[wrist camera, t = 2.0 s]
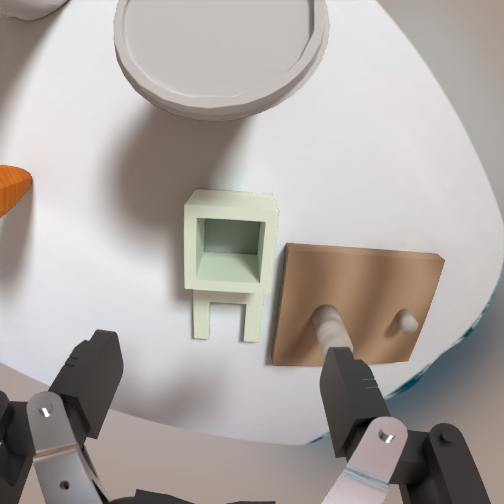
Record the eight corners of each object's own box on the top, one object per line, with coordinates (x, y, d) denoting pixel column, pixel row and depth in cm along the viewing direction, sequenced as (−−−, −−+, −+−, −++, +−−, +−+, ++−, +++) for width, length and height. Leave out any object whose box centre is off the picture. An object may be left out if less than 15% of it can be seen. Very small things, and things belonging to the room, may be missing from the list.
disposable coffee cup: (166, 125, 22) (99, 128, 11) (170, 12, 19) (117, -58, 8) (292, 125, 23) (335, 125, 11) (294, 12, 19) (332, -65, 8)
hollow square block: (195, 189, 24) (184, 204, 20) (273, 193, 25) (279, 210, 20) (195, 331, 29) (188, 366, 25) (258, 335, 30) (260, 371, 25)
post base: (271, 355, 31) (276, 403, 25) (286, 242, 26) (298, 279, 20) (403, 352, 31) (425, 392, 25) (437, 253, 27) (474, 285, 21)
